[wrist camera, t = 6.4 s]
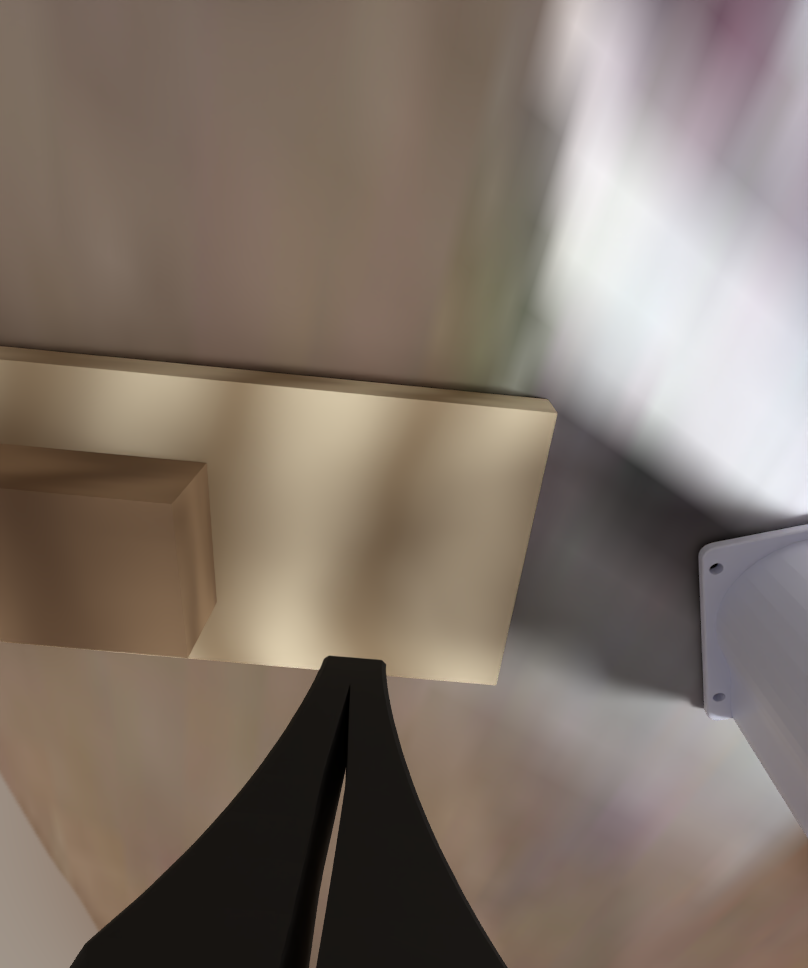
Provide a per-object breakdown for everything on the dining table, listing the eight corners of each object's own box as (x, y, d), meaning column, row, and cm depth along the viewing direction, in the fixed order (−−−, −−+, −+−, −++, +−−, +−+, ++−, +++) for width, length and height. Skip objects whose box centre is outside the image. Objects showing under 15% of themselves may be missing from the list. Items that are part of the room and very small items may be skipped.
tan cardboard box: (206, 463, 19) (171, 504, 16) (216, 602, 22) (187, 657, 19) (-29, 440, 19) (-104, 478, 16) (10, 584, 21) (-49, 637, 19)
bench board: (547, 399, 19) (557, 413, 18) (492, 659, 24) (496, 685, 23) (-93, 337, 19) (-133, 346, 17) (-9, 615, 24) (-35, 638, 23)
